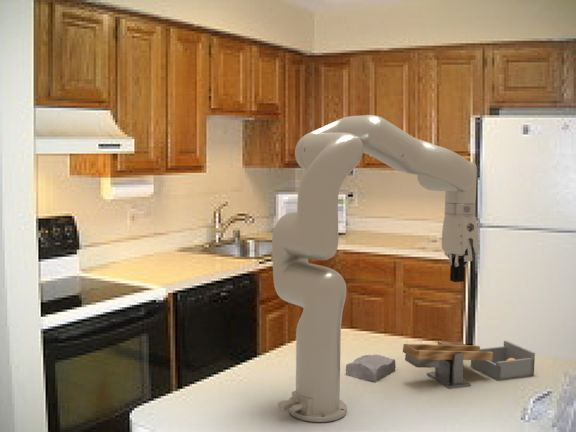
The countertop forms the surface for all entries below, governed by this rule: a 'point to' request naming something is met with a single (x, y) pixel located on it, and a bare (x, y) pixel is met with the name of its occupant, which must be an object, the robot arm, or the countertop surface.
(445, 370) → the fulcrum
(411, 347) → the seesaw
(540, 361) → the countertop surface
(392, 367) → the stone block
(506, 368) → the tray
